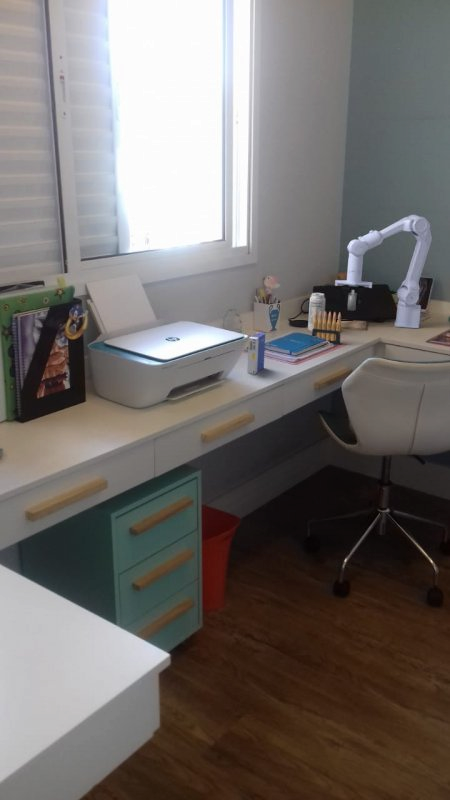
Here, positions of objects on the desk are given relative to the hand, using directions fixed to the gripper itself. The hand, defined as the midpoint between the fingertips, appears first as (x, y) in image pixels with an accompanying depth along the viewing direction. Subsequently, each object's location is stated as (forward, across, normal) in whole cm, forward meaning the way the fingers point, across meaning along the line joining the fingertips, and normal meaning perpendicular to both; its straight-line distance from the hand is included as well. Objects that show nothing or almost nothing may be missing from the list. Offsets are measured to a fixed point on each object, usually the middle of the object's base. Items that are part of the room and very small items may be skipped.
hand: (351, 304), depth 296 cm
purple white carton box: (+9, -28, -70) cm, 76 cm away
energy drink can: (+9, -13, -14) cm, 21 cm away
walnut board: (+9, 0, 0) cm, 9 cm away
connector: (+2, 0, 0) cm, 2 cm away
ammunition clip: (+9, -8, -29) cm, 31 cm away
